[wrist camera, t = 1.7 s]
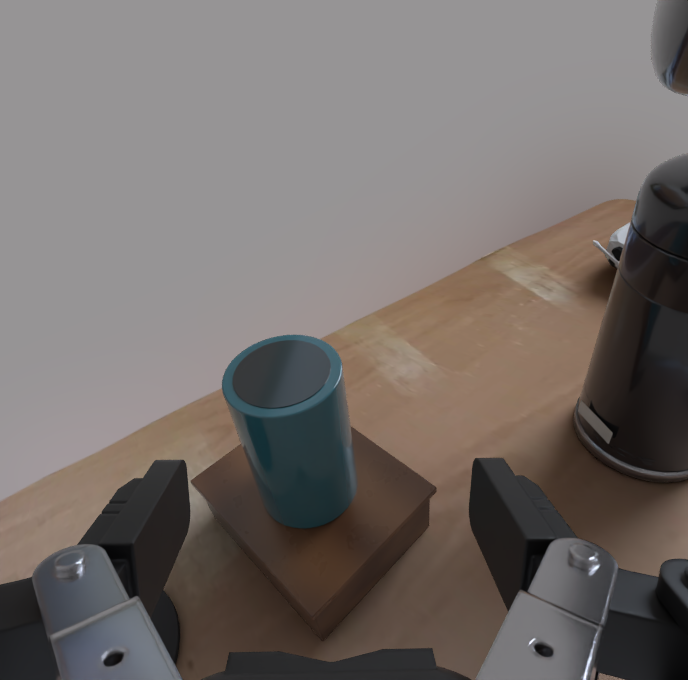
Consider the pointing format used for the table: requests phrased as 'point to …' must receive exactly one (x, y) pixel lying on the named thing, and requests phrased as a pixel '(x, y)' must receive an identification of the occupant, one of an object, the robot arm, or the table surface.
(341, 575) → the riser
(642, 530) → the table surface
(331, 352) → the tumbler
